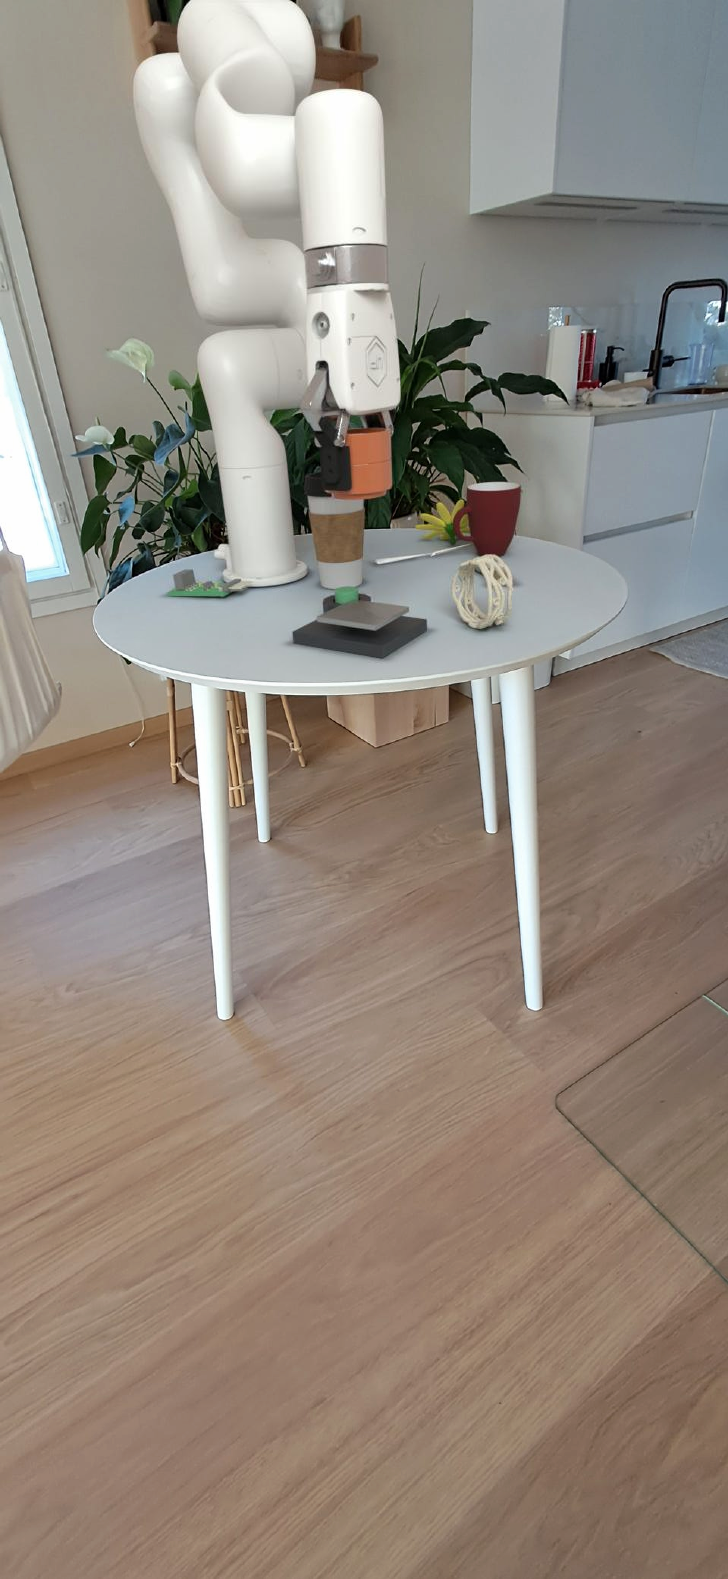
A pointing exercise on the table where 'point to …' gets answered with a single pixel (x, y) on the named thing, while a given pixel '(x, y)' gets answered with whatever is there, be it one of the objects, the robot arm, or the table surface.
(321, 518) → the coffee cup
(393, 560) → the silver knife
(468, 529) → the flower
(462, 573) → the bracelet
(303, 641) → the scale
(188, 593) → the circuit board
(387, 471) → the orange cup
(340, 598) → the tare button
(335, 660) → the table surface
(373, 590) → the table surface
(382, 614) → the weighing plate
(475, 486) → the mug
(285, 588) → the table surface
